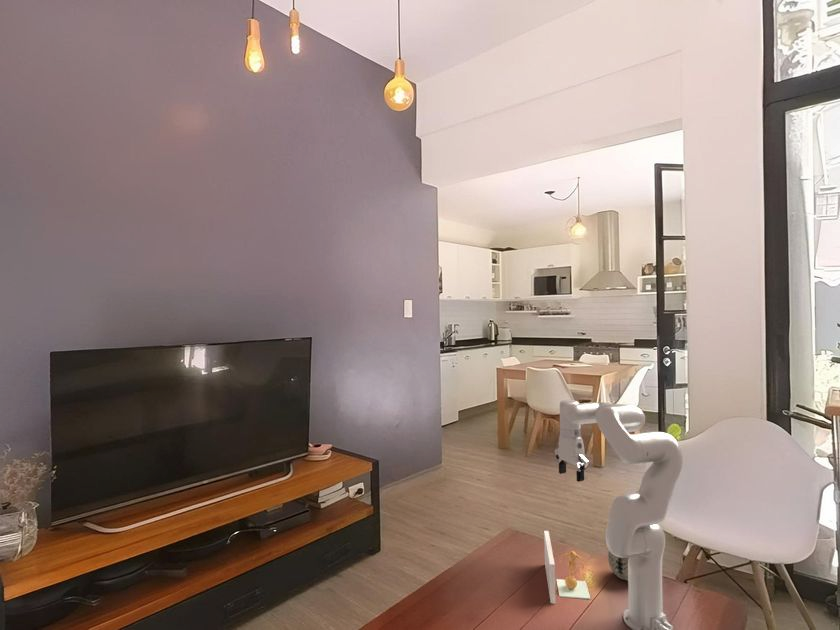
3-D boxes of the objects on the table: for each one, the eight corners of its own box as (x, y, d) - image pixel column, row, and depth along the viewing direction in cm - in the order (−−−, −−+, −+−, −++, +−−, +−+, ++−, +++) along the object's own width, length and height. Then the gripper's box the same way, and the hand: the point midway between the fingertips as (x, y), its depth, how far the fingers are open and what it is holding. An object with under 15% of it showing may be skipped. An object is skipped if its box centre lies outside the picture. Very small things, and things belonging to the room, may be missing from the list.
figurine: (557, 587, 165) (556, 553, 165) (562, 578, 170) (561, 545, 170) (582, 594, 161) (581, 559, 160) (586, 585, 166) (585, 551, 166)
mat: (590, 599, 158) (590, 598, 158) (559, 596, 160) (559, 595, 160) (585, 582, 168) (585, 581, 168) (556, 580, 170) (556, 579, 170)
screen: (555, 603, 157) (554, 564, 156) (550, 603, 157) (549, 564, 157) (549, 565, 180) (548, 530, 180) (544, 564, 181) (544, 530, 180)
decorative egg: (648, 577, 170) (648, 536, 170) (637, 592, 162) (636, 548, 162) (615, 566, 178) (615, 526, 178) (603, 579, 170) (602, 537, 170)
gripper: (594, 436, 176) (595, 482, 176) (562, 426, 192) (563, 468, 192) (579, 439, 173) (580, 486, 173) (547, 429, 189) (548, 471, 189)
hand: (571, 476), depth 183 cm, fingers open, 9 cm apart
